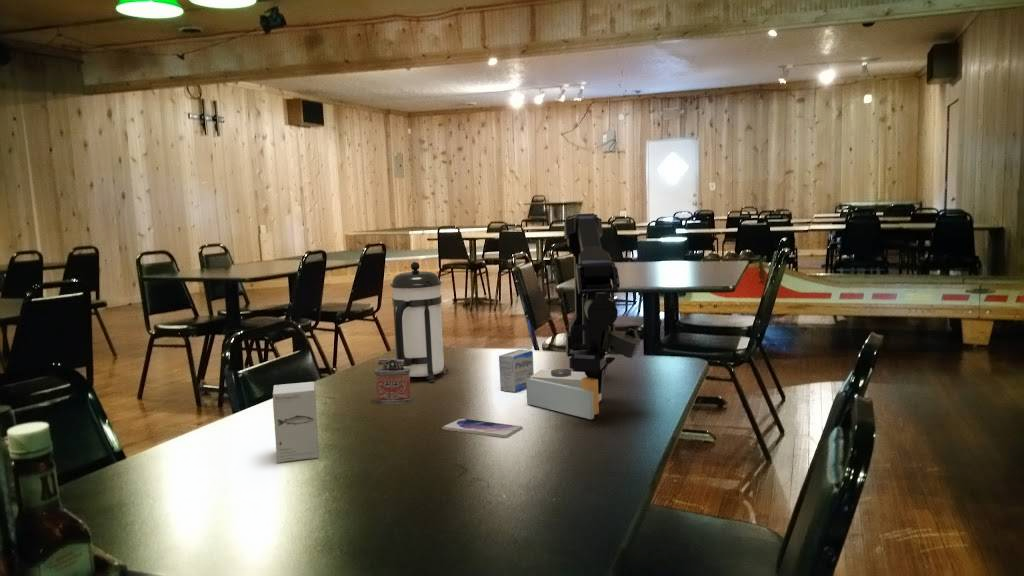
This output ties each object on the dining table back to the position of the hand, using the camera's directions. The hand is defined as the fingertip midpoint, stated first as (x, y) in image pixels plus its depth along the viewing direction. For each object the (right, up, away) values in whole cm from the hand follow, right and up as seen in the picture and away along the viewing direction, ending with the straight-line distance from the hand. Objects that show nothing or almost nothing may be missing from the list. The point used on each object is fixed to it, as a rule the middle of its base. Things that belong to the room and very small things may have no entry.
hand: (598, 393), depth 150 cm
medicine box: (-16, -2, +24) cm, 29 cm away
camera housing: (-6, -3, +10) cm, 12 cm away
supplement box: (-56, -9, -18) cm, 60 cm away
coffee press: (-41, -2, +37) cm, 55 cm away
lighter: (-45, -4, +16) cm, 47 cm away
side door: (-7, -4, +3) cm, 9 cm away
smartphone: (-24, -7, -7) cm, 25 cm away
